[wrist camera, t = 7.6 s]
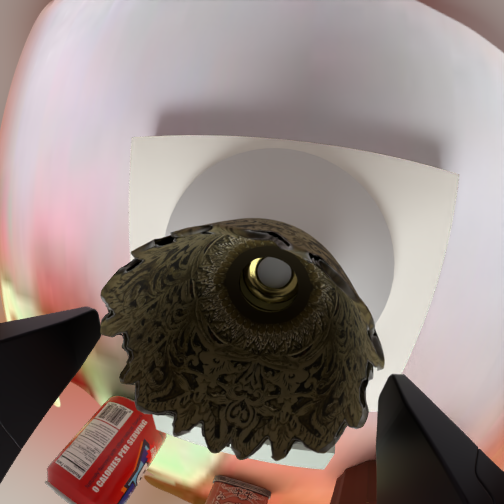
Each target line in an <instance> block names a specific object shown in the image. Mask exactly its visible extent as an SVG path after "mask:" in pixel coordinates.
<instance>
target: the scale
mask: <svg viewBox="0 0 504 504" xmlns="http://www.w3.org/2000/svg"><path fill="white" fill-rule="evenodd" d="M458 181H459V174H456V173H453V172H449V171H446V170H443V169H439V168H436V167H432V166H429V165H425V164H421V163H417V162H413V161H409V160H405V159H401V158H397V157H392V156H388V155H383V154H378V153H373V152H368V151H363V150H357V149H352V148H346V147H340V146H333V145H326V144H319V143H312V142H303V141H295V140H285V139H274V138H261V137H245V136H220V135H172V136H147V137H132V141H131V155H130V173H129V245H130V262H131V261H132V260H133V259H134V257H133V256H132V255H131V251H133V250H135V249H136V248H138V247H140V246H142V245H144V244H146V243H148V242H150V241H152V240H153V239H159V238H163V237H166V236H169V235H171V234H170V233H171V232H174V231H177V230H181V229H184V228H188V227H194V226H201V225H206V224H211V223H216V222H221V221H227V220H234V219H241V218H263V219H271V220H276V221H281V222H284V223H287V224H290V225H293V226H295V227H297V228H299V229H301V230H303V231H305V232H306V233H308V234H309V235H311V236H312V237H314V238H315V239H316V240H317V241H319V242H320V243H321V244H322V245H323V246H324V247H325V248H326V249H327V250H328V251H329V252H330V253H331V254H332V255H333V257H334V258H335V259H336V261H337V262H338V263H339V264H340V266H341V267H342V269H343V270H344V272H345V273H346V275H347V277H348V278H349V280H350V282H351V283H352V285H353V287H354V288H355V290H356V292H357V294H358V296H359V297H360V298H361V299H362V300H363V302H364V303H365V304H366V306H367V307H368V309H369V311H370V313H371V315H372V317H373V320H374V323H375V329H376V333H377V335H378V337H379V340H380V343H381V346H382V349H383V353H384V359H385V364H384V369H382V370H379V371H377V368H375V367H374V368H373V379H372V380H370V381H369V382H368V385H367V388H366V402H367V405H368V409H369V412H378V399H379V395H380V393H381V391H382V389H383V387H384V385H385V383H386V381H387V379H388V377H389V376H390V375H391V374H402V372H403V370H404V367H405V365H406V363H407V361H408V359H409V357H410V355H411V352H412V350H413V348H414V345H415V343H416V341H417V338H418V336H419V333H420V331H421V328H422V326H423V323H424V321H425V318H426V315H427V312H428V310H429V307H430V304H431V301H432V298H433V295H434V292H435V289H436V285H437V282H438V279H439V275H440V272H441V268H442V265H443V261H444V257H445V253H446V249H447V245H448V240H449V236H450V231H451V226H452V221H453V215H454V210H455V203H456V197H457V189H458ZM258 277H259V279H260V281H261V282H262V283H263V284H264V285H266V286H268V287H270V288H280V287H283V286H284V285H286V284H287V283H288V282H289V280H290V278H291V269H290V266H289V265H288V264H286V263H285V262H283V261H281V260H279V259H276V258H272V257H267V258H265V259H264V260H262V261H261V263H260V264H259V266H258ZM167 414H169V413H167ZM152 415H153V414H152ZM173 416H174V415H173ZM153 418H154V422H155V426H156V430H159V431H161V432H164V433H167V434H169V435H172V436H173V426H172V423H173V418H174V417H172V416H170V415H164V416H163V415H162V416H161V415H159V416H157V415H153ZM201 426H202V424H198V425H197V426H196V427H194V428H193V429H192V430H191V431H190V433H187V434H184V435H182V436H178V437H177V438H180V439H183V440H186V441H189V442H192V443H195V444H198V445H201V446H204V447H207V445H206V442H205V439H204V437H202V432H201ZM295 443H296V442H295ZM297 443H301V442H297ZM267 444H268V446H267ZM230 447H231V444H230ZM230 447H225V448H224V449H223V450H222V451H221V452H225V453H229V454H233V455H235V454H234V452H233V451H232V449H231V448H230ZM207 448H208V447H207ZM334 454H335V445H334V446H333V447H332V448H331V449H330V450H329V451H327V452H326V453H324V454H321V453H315V452H313V451H311V450H309V449H307V448H306V447H304V445H303V443H301V444H294V445H292V448H291V450H290V451H289V453H288V455H287V456H286V457H285V458H284V459H281V460H279V461H275V460H274V459H272V458H271V456H272V452H271V444H270V441H269V439H268V440H267V441H266V442H265V443H264V445H263V446H262V447H261V448H260V449H259V450H258V451H257V452H256V453H254V454H253V455H252V456H251V457H249V458H250V459H254V460H259V461H264V462H270V463H276V464H282V465H288V466H296V467H304V468H313V469H325V467H326V466H327V464H328V463H329V461H330V460H331V458H332V457H333V455H334Z"/></svg>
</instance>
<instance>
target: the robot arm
mask: <svg viewBox="0 0 504 504" xmlns="http://www.w3.org/2000/svg"><path fill="white" fill-rule="evenodd" d="M100 330H101V325H100V320H99V315H98V312H97V311H96V310H95V309H93V308H90V307H81V308H76V309H71V310H66V311H61V312H56V313H51V314H46V315H41V316H36V317H30V318H25V319H20V320H14V321H9V322H4V323H0V483H1V482H2V480H3V478H4V477H5V475H6V473H7V472H8V470H9V468H10V467H11V465H12V464H13V462H14V461H15V459H16V457H17V456H18V454H19V453H20V451H21V449H22V448H23V446H24V445H25V443H26V442H27V440H28V439H29V437H30V436H31V434H32V433H33V432H34V430H35V429H36V427H37V426H38V424H39V423H40V422H41V420H42V419H43V417H44V416H45V415H46V413H47V412H48V410H49V409H50V408H51V406H52V405H53V404H54V402H55V401H56V400H57V398H58V397H59V396H60V394H61V393H62V392H63V390H64V389H65V388H66V386H67V385H68V384H69V382H70V381H71V380H72V379H73V377H74V376H75V375H76V373H77V372H78V371H79V369H80V368H81V366H82V365H83V363H84V362H85V360H86V359H87V357H88V355H89V354H90V352H91V351H92V349H93V348H94V346H95V345H96V343H97V342H98V340H99V339H100V337H101V333H100ZM376 466H377V504H504V472H503V471H502V470H501V469H500V468H499V467H498V466H497V465H496V464H495V463H494V462H493V461H492V460H490V459H489V458H488V457H487V456H486V455H485V454H484V453H483V452H482V450H481V449H478V447H477V446H476V445H475V444H474V443H473V441H472V440H471V439H470V438H469V437H468V436H467V435H466V434H465V433H464V432H463V431H462V430H461V429H460V428H459V427H458V426H457V425H456V424H455V423H454V422H452V421H451V420H450V419H449V418H448V417H447V416H446V415H445V414H444V413H443V412H442V411H441V410H440V409H439V408H438V407H437V406H436V405H435V404H434V403H433V402H432V401H431V400H430V399H429V398H428V397H427V396H426V395H425V394H424V393H423V392H422V391H421V390H420V389H419V388H418V387H417V386H416V385H415V384H414V383H413V382H412V381H411V380H410V379H409V378H407V377H406V376H405V375H403V374H391V375H390V376H389V377H388V379H387V381H386V383H385V385H384V387H383V389H382V391H381V393H380V395H379V399H378V417H377V437H376Z"/></svg>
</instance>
